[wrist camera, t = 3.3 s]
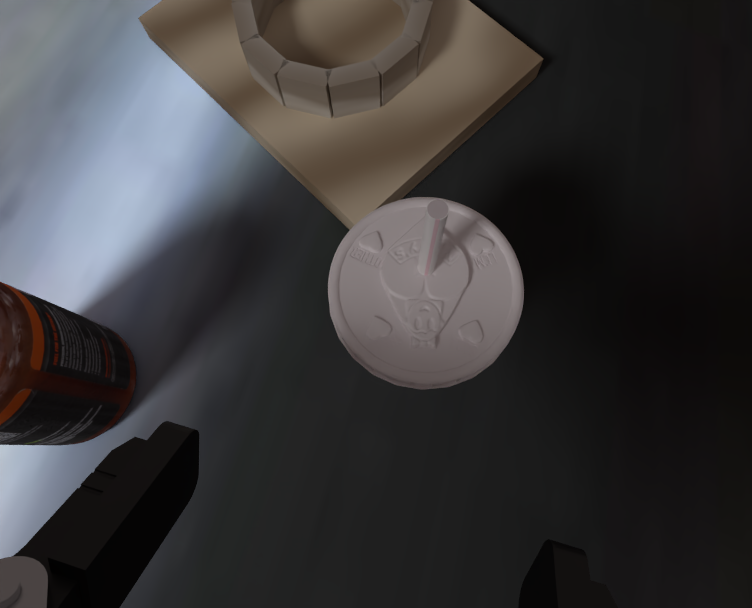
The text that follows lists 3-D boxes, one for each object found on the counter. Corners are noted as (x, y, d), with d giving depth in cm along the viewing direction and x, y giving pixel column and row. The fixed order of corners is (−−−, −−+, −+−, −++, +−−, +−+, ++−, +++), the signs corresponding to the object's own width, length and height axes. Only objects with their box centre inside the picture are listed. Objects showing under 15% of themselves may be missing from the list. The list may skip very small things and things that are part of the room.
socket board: (149, 37, 32) (116, -20, 28) (322, -91, 34) (314, -160, 30) (358, 237, 28) (353, 203, 24) (536, 77, 30) (557, 22, 26)
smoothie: (476, 285, 27) (564, 117, 14) (478, 413, 25) (580, 367, 12) (351, 281, 27) (314, 112, 14) (344, 408, 26) (294, 357, 12)
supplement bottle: (88, 301, 27) (-112, 200, 16) (166, 377, 26) (8, 323, 15) (-5, 389, 26) (-285, 343, 15) (73, 473, 25) (-171, 488, 14)
